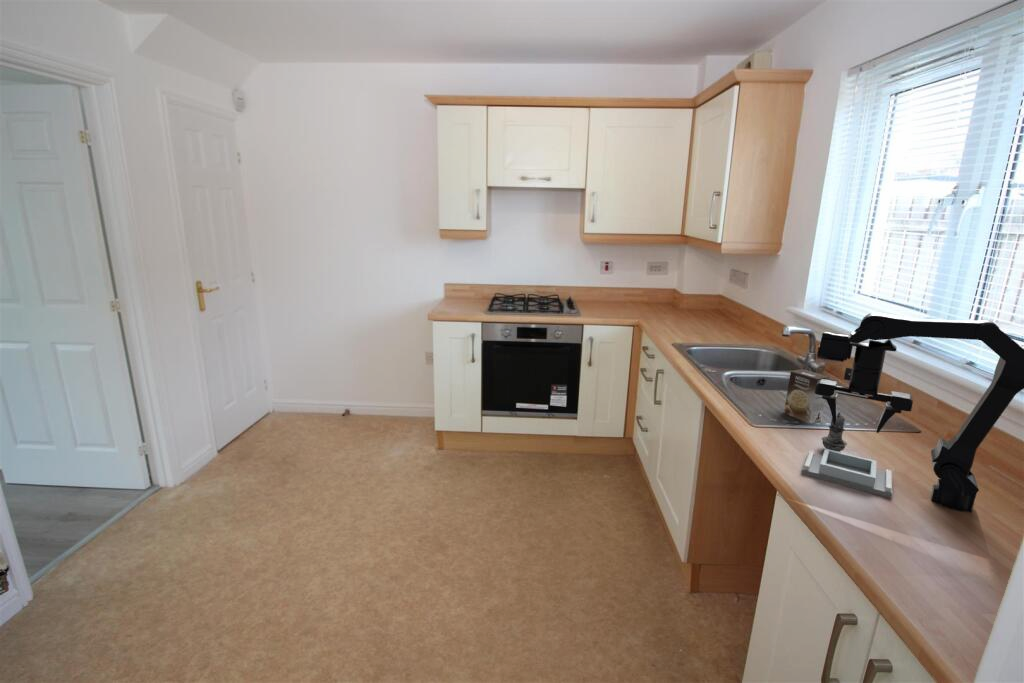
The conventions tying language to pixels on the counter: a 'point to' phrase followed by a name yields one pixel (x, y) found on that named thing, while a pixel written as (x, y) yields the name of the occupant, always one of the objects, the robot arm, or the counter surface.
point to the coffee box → (804, 396)
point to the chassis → (849, 472)
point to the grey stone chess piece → (835, 435)
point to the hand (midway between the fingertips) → (855, 427)
